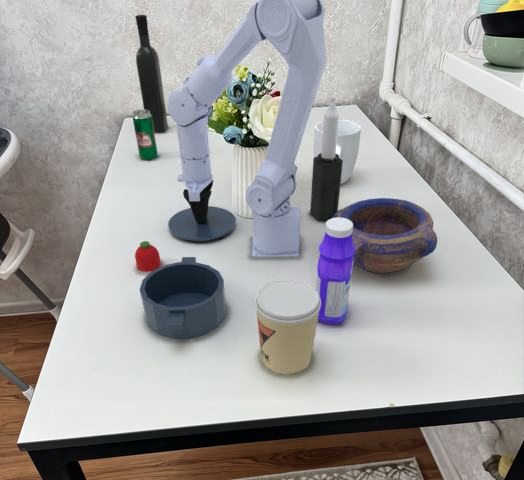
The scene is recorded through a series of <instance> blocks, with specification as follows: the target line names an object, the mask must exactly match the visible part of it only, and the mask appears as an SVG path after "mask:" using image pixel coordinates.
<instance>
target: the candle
mask: <svg viewBox="0 0 524 480" xmlns="http://www.w3.org/2000/svg"><path fill="white" fill-rule="evenodd" d="M339 119H340V114H339V112H338V110H337V106H336V96H335V95H332V96H331V97H330V103H329V104H328V107H327V109H326V111H325V112H324V115H323V121H324V125H323V140H322V153H320V154H318V156H317V157H314V156H313V158H312V159H313V160H312V163H313V164H312V175H311V193H310V194H311V196H310V197H311V198H310V210H309V214H310V216H311V217H312V218H313V219H315V220H316V221H318V222H320V223H321V222H322V223H323V222H327V221H328V220H330V219H332V217H333V216H334V215H335V214H336V213H337V212H338V211H339V203H340V192H341V185H342V184H341V174H342V164H343V160H342V159H340V158H339V155H338V154H336V144H337V133H338V121H339Z"/></svg>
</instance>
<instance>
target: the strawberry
mask: <svg viewBox="0 0 524 480" xmlns="http://www.w3.org/2000/svg"><path fill="white" fill-rule="evenodd" d="M134 258H135V264H136V268H137V270H138V271H140V272H143V273H150V272H152V271H154V270H156V269H158V268H160V267H162V262H161V257H160V252H159V250H158V248H156V246H154V245H152V244H151V243H150V241H148V240H147V241H146V240H144V241H141V242H140V243H139V246H138V247H137V249H136V250H135V253H134Z"/></svg>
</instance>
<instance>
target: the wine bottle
mask: <svg viewBox="0 0 524 480" xmlns="http://www.w3.org/2000/svg"><path fill="white" fill-rule="evenodd" d="M135 23H136V24H135V25H136V26H137V32H138V38H139V48H138V49H137V51H136V55H135V63H136V70H137V75H138V82H139V87H140V93H141V94H140V95H141V100H142V101H141V102H142V106H143V109H145V110H149V111H150V114H151V115H152V121H153V127H154V133H155V134H163V133H165V132H166V131H167V130H168V128H169V125H168V124H169V123H168V117H167V110H166V109H167V108H166V101H165V95H164V86H163V79H162V72H161V71H162V70H161V65H160V58H159V55H158V52H157V51H156V49H155V48H154V47H153V46H152V45H151V41H150V35H149V33H150V32H149V26H148V24H149V22H148V15H146V14H137V15H135Z"/></svg>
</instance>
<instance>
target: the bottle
mask: <svg viewBox="0 0 524 480" xmlns="http://www.w3.org/2000/svg"><path fill="white" fill-rule="evenodd" d="M325 222H326V223H325V229H324V230H325V232H324V236H323V239H322V241H321V243H320V244H319V246H318V251H319V256H318V259H317V267H316V268H317V269H316V270H317V271H316V272H317V273H316V274H317V275H316V286H315V290H316V291H317V292H318V295H319V296H320V299H321V307H320V310H319V315H318V321H317V322H320V323H322V324H330V325H338V324H341V323H342V322H343V321H344V320H345V318H346V317H347V313H348V309H349V296H350V295H349V294H350V287H351V280H352V274H353V271H354V262H353V255H354V253H355V246H354V245H353V241H352V232H353V223H352V222H351V221H350V220H348V219H346V218H340V217H338V218H332V219H330V220H326V221H325Z"/></svg>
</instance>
